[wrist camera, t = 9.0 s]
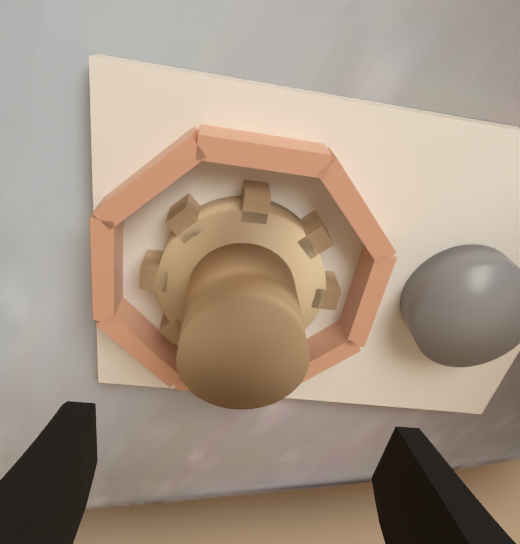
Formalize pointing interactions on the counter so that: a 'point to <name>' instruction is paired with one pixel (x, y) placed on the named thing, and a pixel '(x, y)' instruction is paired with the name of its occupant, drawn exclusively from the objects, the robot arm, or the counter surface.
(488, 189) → the carrier board
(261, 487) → the counter surface
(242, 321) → the gear
